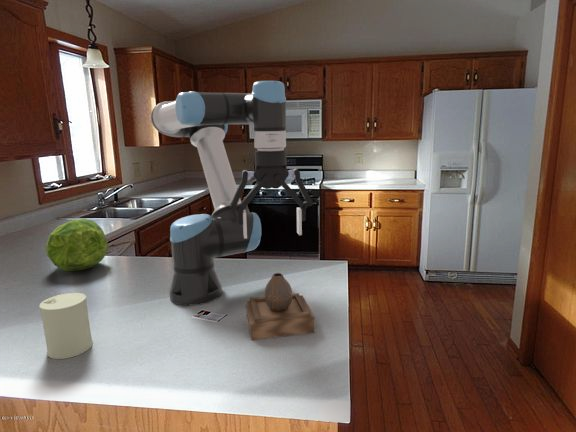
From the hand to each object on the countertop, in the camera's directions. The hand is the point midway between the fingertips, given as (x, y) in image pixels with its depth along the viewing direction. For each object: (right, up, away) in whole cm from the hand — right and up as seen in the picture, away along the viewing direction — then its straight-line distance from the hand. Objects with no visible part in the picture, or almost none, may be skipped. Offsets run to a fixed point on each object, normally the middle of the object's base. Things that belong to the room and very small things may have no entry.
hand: (272, 235), depth 100 cm
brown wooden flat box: (+2, -22, 0) cm, 22 cm away
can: (-45, -25, -9) cm, 53 cm away
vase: (+2, -18, -1) cm, 18 cm away
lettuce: (-73, -14, +46) cm, 87 cm away
